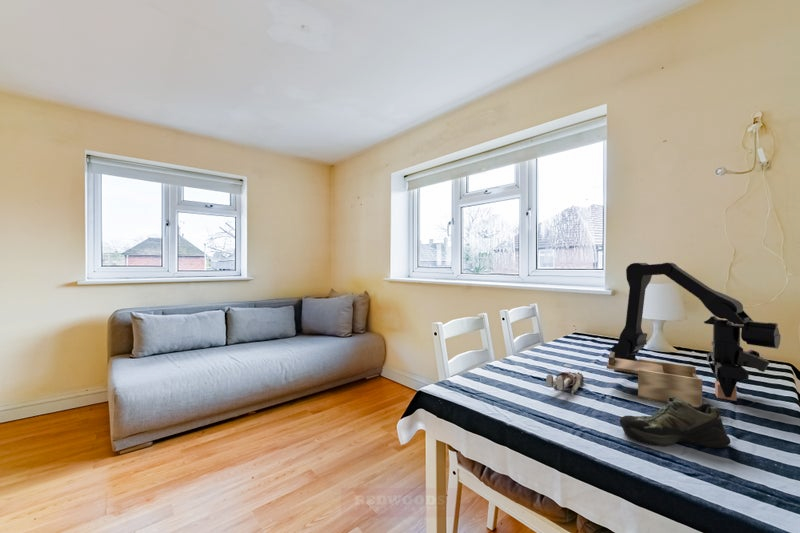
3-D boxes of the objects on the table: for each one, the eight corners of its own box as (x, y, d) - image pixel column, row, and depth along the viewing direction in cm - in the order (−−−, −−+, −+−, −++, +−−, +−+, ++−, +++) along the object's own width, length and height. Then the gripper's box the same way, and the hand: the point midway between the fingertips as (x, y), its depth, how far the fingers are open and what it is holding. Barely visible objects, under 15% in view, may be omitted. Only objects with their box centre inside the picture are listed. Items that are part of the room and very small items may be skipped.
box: (638, 397, 97) (638, 369, 97) (638, 383, 109) (638, 358, 109) (701, 410, 89) (702, 379, 89) (694, 393, 100) (695, 366, 100)
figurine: (544, 372, 100) (570, 366, 113) (543, 392, 99) (569, 383, 113) (565, 378, 95) (590, 370, 108) (564, 398, 95) (589, 388, 108)
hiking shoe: (610, 426, 81) (611, 388, 80) (705, 430, 78) (706, 391, 78) (631, 446, 72) (631, 403, 72) (738, 451, 70) (739, 407, 70)
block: (717, 397, 98) (717, 384, 97) (714, 393, 101) (715, 380, 101) (736, 401, 95) (736, 387, 95) (733, 396, 98) (733, 383, 98)
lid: (606, 368, 103) (606, 358, 103) (609, 359, 112) (609, 350, 112) (664, 377, 95) (664, 366, 95) (661, 367, 104) (661, 357, 104)
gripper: (777, 352, 85) (776, 412, 86) (756, 338, 101) (755, 389, 101) (718, 345, 92) (717, 401, 92) (706, 334, 107) (706, 381, 107)
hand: (725, 393), depth 98 cm, fingers open, 6 cm apart
